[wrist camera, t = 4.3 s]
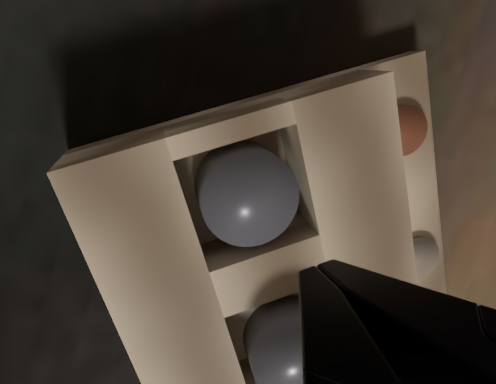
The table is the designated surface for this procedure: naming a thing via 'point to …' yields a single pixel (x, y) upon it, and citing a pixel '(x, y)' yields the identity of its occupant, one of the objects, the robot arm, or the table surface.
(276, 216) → the button
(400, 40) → the table surface
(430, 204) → the button board
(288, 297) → the button middle
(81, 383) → the table surface
